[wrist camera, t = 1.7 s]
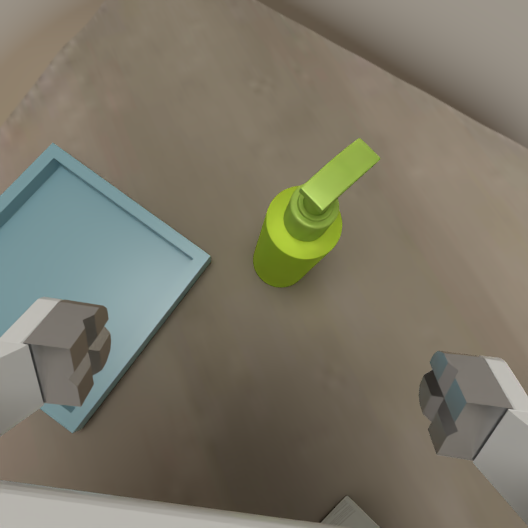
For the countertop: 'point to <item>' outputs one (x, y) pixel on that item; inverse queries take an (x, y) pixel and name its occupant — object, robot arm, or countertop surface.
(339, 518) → the skincare box
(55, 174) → the tray
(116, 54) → the countertop surface
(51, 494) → the robot arm
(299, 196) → the soap dispenser
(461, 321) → the countertop surface
